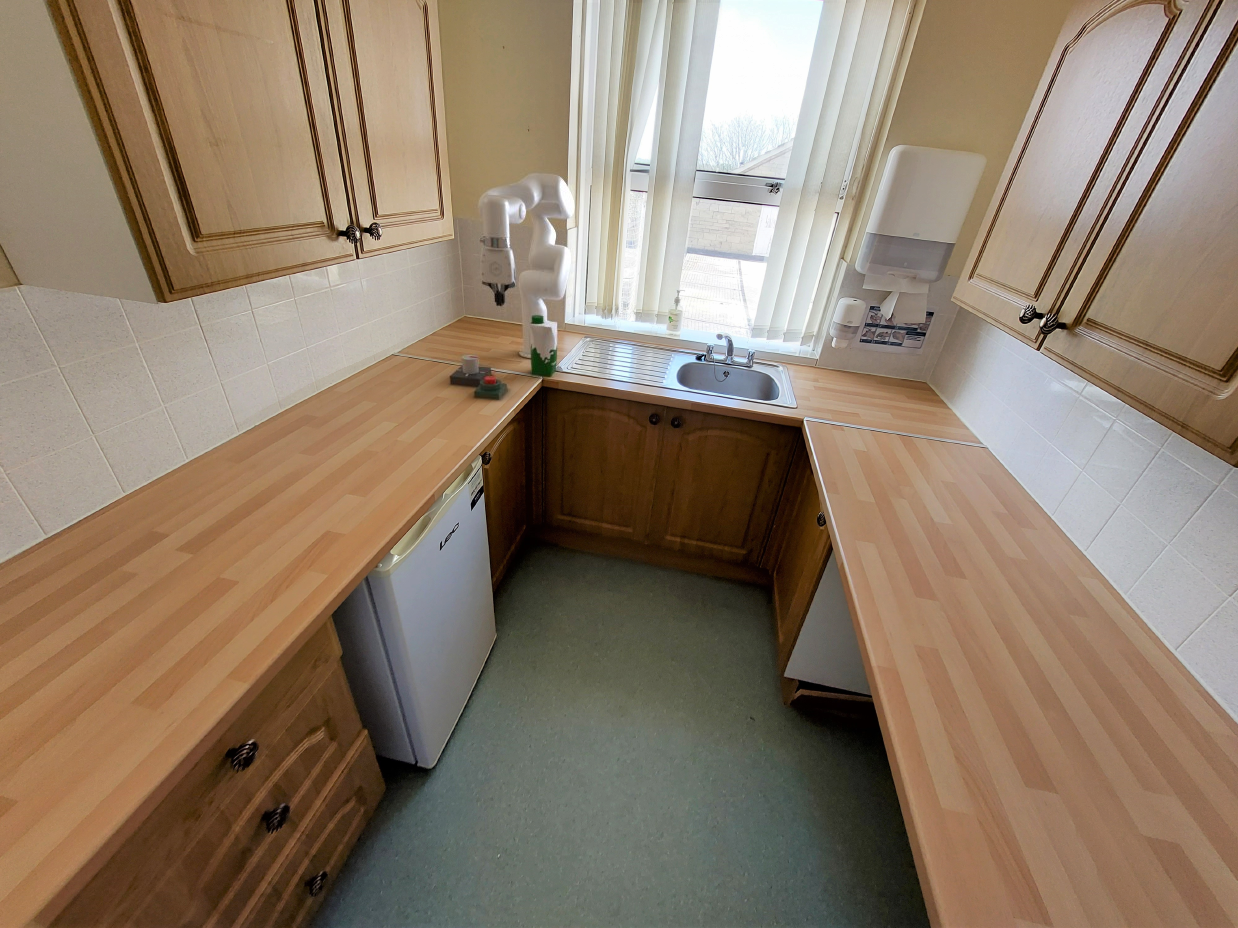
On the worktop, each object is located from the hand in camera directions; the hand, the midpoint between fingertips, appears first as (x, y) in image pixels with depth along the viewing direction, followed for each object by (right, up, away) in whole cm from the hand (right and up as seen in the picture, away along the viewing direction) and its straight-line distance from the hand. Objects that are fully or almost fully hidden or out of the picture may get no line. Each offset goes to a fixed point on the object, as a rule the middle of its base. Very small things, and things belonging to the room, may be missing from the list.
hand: (500, 305), depth 156 cm
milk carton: (+11, -18, +21) cm, 30 cm away
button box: (-3, -29, 0) cm, 29 cm away
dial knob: (-12, -20, +8) cm, 24 cm away
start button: (-3, -25, -1) cm, 26 cm away
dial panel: (-12, -23, +9) cm, 27 cm away
